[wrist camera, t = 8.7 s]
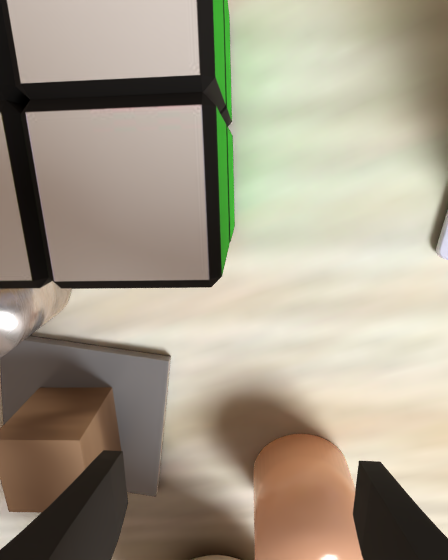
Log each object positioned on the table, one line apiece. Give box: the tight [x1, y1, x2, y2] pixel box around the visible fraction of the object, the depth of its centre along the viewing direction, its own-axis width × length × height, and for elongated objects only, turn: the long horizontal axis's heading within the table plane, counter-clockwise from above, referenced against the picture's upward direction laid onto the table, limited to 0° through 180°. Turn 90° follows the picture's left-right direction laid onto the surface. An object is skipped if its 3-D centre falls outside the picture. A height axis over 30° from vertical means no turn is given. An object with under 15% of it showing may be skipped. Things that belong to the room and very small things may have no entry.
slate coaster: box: [0, 336, 171, 496], centre depth 23 cm, size 10×10×1 cm
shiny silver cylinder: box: [0, 281, 72, 358], centre depth 19 cm, size 5×5×5 cm
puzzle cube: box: [0, 0, 235, 289], centre depth 14 cm, size 10×10×10 cm
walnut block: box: [0, 387, 121, 512], centre depth 21 cm, size 4×4×4 cm
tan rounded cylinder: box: [253, 434, 363, 560], centre depth 21 cm, size 6×6×6 cm
